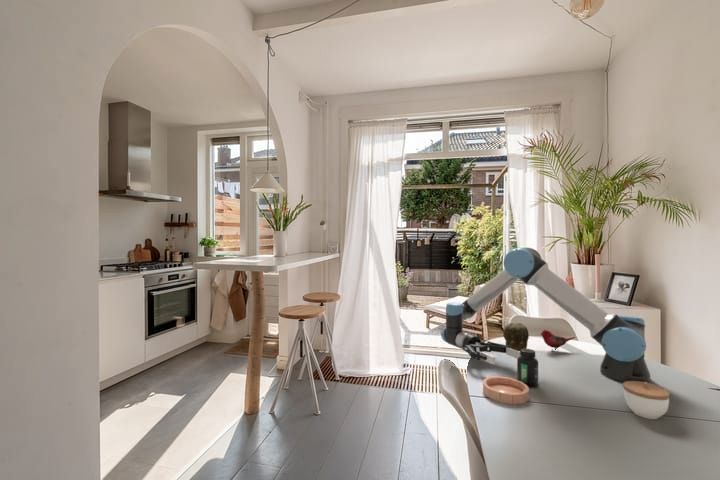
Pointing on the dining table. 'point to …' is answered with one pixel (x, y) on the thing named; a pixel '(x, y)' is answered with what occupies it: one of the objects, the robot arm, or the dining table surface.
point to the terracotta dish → (506, 390)
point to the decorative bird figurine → (554, 339)
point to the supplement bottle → (527, 368)
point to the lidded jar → (646, 399)
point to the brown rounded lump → (516, 336)
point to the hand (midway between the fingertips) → (507, 358)
